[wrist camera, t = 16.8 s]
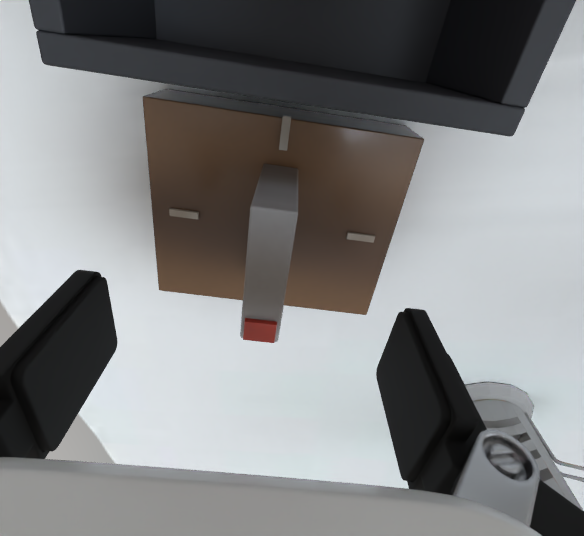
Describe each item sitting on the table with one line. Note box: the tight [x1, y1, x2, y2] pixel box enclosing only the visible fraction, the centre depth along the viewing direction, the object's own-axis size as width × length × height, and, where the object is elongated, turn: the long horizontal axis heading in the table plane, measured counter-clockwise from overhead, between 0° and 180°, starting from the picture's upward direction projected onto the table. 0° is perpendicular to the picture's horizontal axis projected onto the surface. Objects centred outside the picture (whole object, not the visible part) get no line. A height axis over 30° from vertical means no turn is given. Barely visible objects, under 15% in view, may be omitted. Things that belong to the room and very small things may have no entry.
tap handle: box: [240, 164, 298, 343], centre depth 15 cm, size 6×2×5 cm, turn 172°
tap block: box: [143, 89, 424, 315], centre depth 18 cm, size 10×12×3 cm
